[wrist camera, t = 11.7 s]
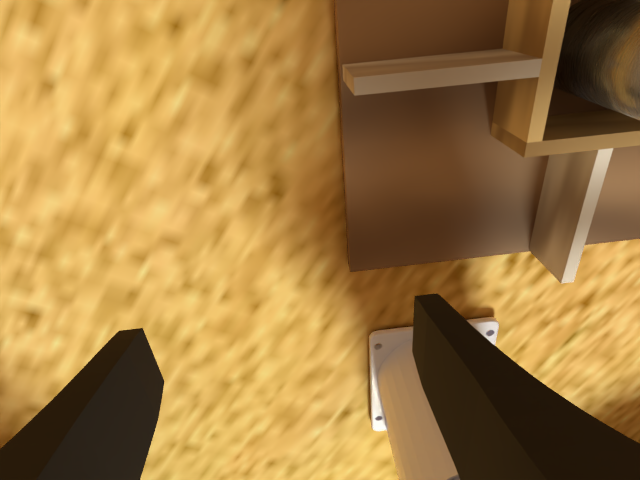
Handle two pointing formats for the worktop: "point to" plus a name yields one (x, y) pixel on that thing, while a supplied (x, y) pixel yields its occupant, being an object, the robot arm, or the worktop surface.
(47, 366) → the worktop surface
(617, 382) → the worktop surface
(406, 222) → the hinge block
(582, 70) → the hinge pin
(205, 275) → the worktop surface
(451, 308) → the robot arm
